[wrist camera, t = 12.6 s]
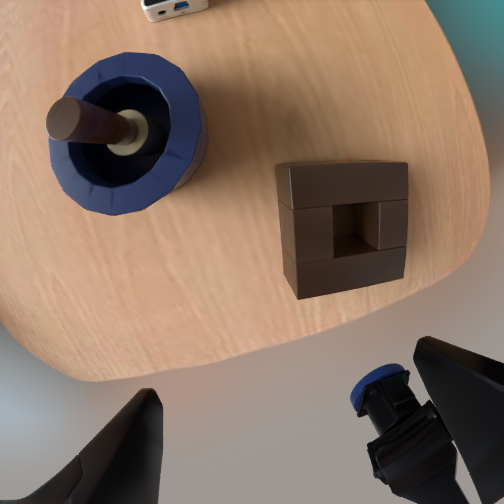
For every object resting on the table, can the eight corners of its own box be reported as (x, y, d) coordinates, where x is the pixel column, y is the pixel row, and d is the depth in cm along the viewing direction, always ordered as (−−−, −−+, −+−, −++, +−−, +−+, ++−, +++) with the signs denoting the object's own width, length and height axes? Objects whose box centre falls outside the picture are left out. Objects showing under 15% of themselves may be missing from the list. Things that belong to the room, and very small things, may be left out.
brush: (168, 152, 16) (98, 144, 6) (133, 159, 16) (37, 167, 6) (164, 117, 15) (94, 69, 5) (129, 125, 15) (33, 97, 5)
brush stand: (377, 258, 21) (403, 278, 17) (283, 274, 20) (297, 300, 17) (376, 159, 18) (408, 162, 14) (274, 165, 18) (288, 166, 14)
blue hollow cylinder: (214, 185, 18) (210, 199, 12) (108, 205, 17) (61, 228, 11) (201, 75, 15) (192, 36, 9) (95, 101, 15) (46, 83, 8)
